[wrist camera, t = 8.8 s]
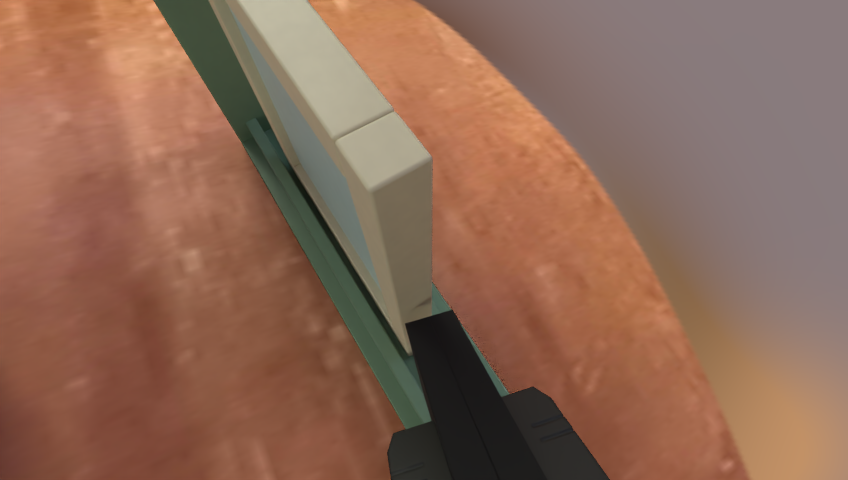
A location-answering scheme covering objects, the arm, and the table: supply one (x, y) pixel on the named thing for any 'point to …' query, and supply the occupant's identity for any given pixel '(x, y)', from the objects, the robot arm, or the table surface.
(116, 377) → the table surface
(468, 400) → the robot arm
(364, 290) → the green l-shaped bracket
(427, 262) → the window pane
